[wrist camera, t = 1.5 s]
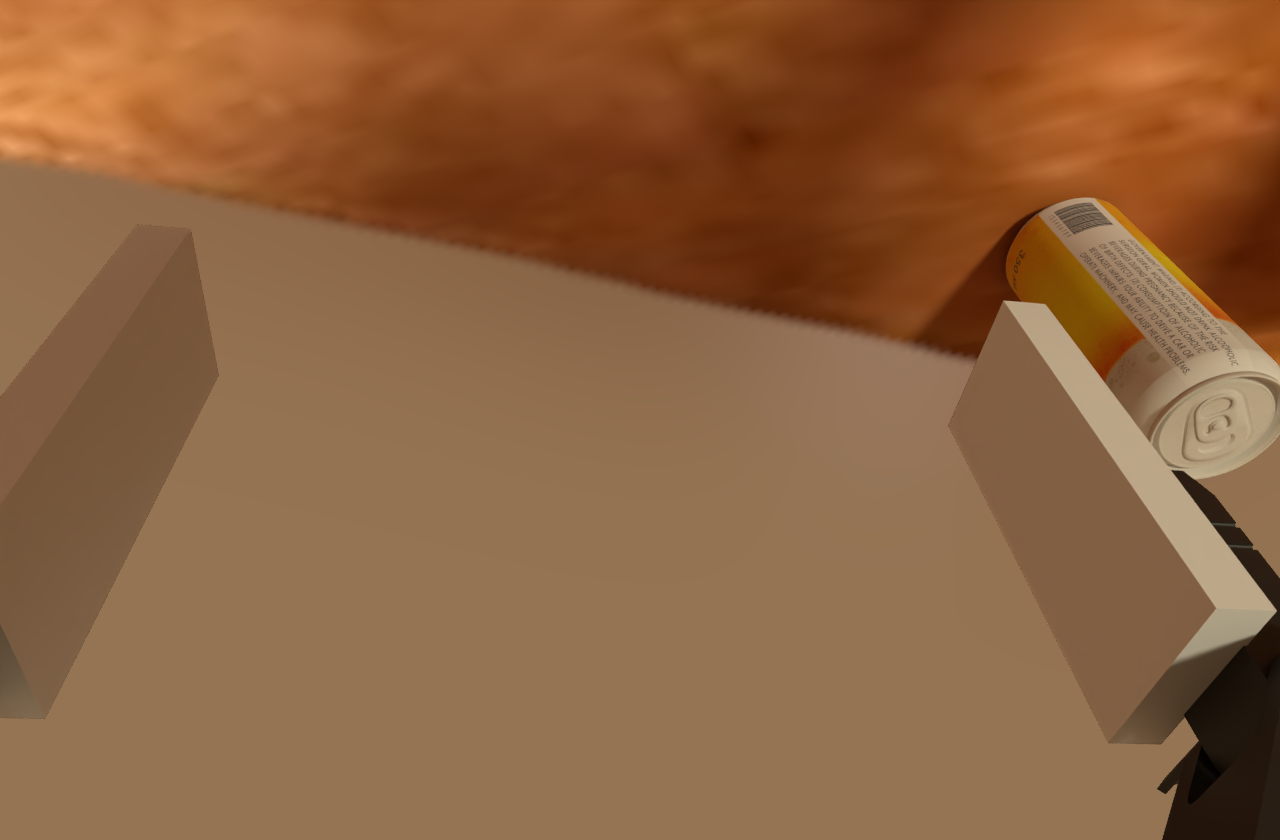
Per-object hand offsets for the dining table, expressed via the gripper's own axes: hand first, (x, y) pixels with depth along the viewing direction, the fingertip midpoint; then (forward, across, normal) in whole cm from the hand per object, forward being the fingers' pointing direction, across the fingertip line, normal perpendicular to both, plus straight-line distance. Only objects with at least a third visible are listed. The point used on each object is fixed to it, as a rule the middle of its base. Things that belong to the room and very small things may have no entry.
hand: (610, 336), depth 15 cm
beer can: (+28, +26, -11) cm, 40 cm away
